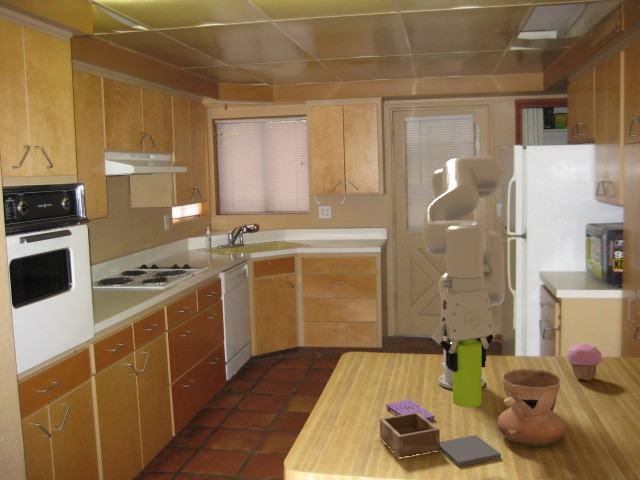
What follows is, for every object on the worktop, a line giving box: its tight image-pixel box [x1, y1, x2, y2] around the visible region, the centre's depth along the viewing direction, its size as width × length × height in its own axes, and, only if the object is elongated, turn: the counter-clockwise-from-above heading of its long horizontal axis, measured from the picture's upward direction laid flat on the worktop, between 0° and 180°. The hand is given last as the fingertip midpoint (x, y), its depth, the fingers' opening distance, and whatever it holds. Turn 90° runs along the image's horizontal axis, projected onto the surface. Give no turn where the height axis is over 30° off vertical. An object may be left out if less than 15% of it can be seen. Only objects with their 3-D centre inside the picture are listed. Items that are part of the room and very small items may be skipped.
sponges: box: [385, 398, 436, 422], centre depth 164 cm, size 7×13×2 cm, turn 22°
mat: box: [440, 434, 502, 467], centre depth 142 cm, size 10×10×1 cm
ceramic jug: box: [497, 368, 567, 447], centre depth 147 cm, size 18×14×14 cm
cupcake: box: [566, 343, 603, 382], centre depth 182 cm, size 9×9×10 cm
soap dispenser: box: [452, 339, 482, 409], centre depth 139 cm, size 6×7×20 cm
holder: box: [379, 412, 441, 458], centre depth 146 cm, size 11×10×5 cm
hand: (466, 366), depth 139 cm, fingers closed on soap dispenser, 5 cm apart
